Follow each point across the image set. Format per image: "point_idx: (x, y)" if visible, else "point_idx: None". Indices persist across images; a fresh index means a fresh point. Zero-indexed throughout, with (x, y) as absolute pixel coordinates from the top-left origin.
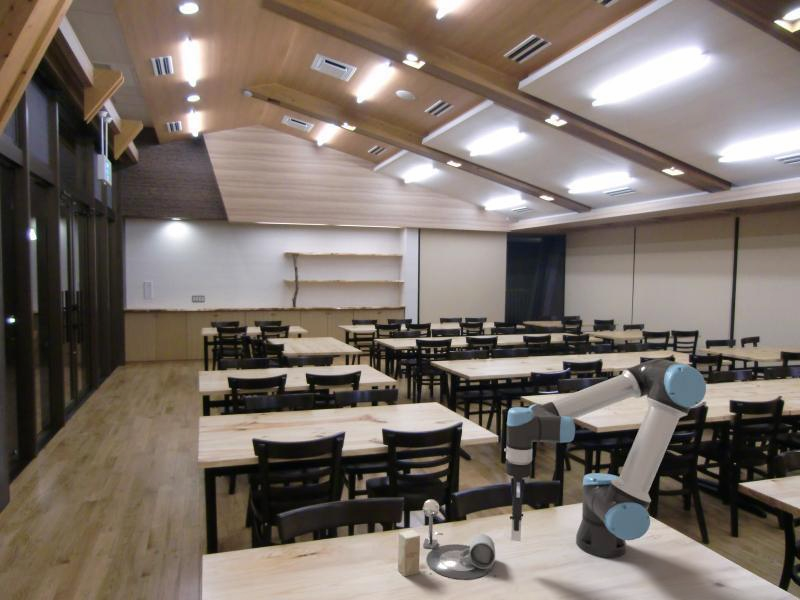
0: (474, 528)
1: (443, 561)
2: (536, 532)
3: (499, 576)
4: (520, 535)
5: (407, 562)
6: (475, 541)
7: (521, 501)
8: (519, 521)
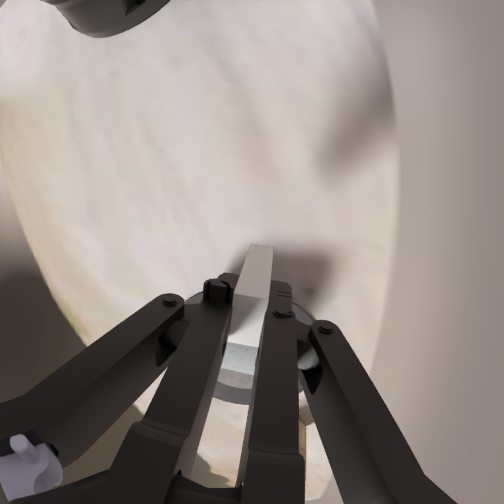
0: (81, 295)
1: (251, 384)
2: (62, 139)
3: (313, 280)
4: (272, 258)
5: (304, 443)
6: (252, 374)
7: (408, 456)
8: (268, 301)
